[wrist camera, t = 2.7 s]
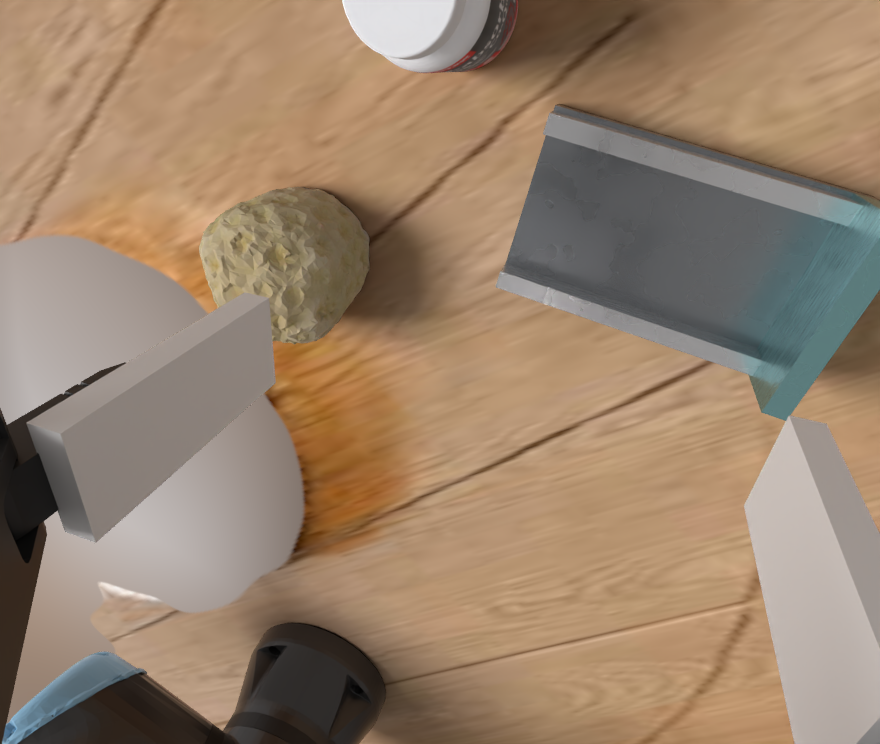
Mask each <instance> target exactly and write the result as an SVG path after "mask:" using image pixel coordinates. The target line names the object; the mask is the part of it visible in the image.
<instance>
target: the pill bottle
mask: <svg viewBox="0 0 880 744" xmlns="http://www.w3.org/2000/svg"><path fill="white" fill-rule="evenodd" d="M342 2H343V6H344V10H345V13H346V16H347V18H348V20H349V22H350V24H351V26H352V28H353V30H354V31H355V33H356V34H357V35H358V36H359V38H360V39H361V40H362V41H363V42H364V43H365V44H366V45H367V46H368V47H370V48H371V49H372V50H374V51H376V52H377V53H379V54H382V55H383V56H384V57H386V58H387V59H388V60H389V61H391V62H392V63H394V64H395V65H397V66H399V67H401V68H404V69H406V70H409V71H414V72H419V73H436V72H465V71H471V70H475V69H477V68H480V67H482V66H484V65H486V64H487V63H489V62H490V61H492V60H493V59H494V58H495V57H496V56H497V55H498V54H499V53H500V52H501V51H502V50H503V48H504V47H505V45H506V44H507V42H508V41H509V39H510V37H511V34H512V32H513V29H514V26H515V23H516V18H517V12H518V0H342Z"/></svg>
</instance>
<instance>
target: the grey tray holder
mask: <svg viewBox="0 0 880 744" xmlns="http://www.w3.org/2000/svg"><path fill="white" fill-rule="evenodd" d="M543 134H544V135H546V137H545V140H544V143H543V147H542V150H541V153H540V156H539V159H538V162H537V166H536V169H535V172H534V175H533V178H532V182H531V185H530V188H529V191H528V194H527V198H526V201H525V204H524V207H523V210H522V214H521V217H520V220H519V223H518V226H517V230H516V233H515V236H514V239H513V242H512V245H511V249H510V252H509V255H508V258H507V261H506V264H505V265H504V267H503V268H502V270H501V271H500V274H499V278H498V281H497V284H496V287H497V288H500V289H503V290H505V291H508V292H511V293H514V294H517V295H520V296H523V297H526V298H529V299H532V300H534V301H537V302H540V303H543V304H546V305H549V306H552V307H555V308H558V309H560V310H563V311H566V312H569V313H572V314H575V315H578V316H581V317H584V318H586V319H589V320H592V321H595V322H598V323H601V324H604V325H607V326H610V327H613V328H615V329H618V330H621V331H624V332H627V333H630V334H633V335H636V336H639V337H641V338H644V339H647V340H650V341H653V342H656V343H659V344H662V345H665V346H667V347H670V348H673V349H676V350H679V351H682V352H685V353H688V354H691V355H693V356H696V357H699V358H702V359H705V360H708V361H711V362H714V363H717V364H720V365H722V366H725V367H728V368H731V369H734V370H737V371H740V372H743V373H746V374H748V375H749V377H750V380H751V383H752V386H753V389H754V392H755V395H756V398H757V401H758V404H759V406H760V409H761V412H762V413H765V414H768V415H771V416H774V417H777V418H779V419H782V420H785V421H786V420H787V418H788V416H789V415H791V413H792V412H793V410H794V409H795V408H796V406H797V405H798V403H799V402H800V401H801V399H802V398H803V396H804V395H805V394H806V392H807V391H808V389H809V388H810V387H811V385H812V384H813V382H814V381H815V380H816V378H817V377H818V375H819V374H820V373H821V371H822V370H823V368H824V367H825V366H826V364H827V363H828V361H829V360H830V359H831V357H832V356H833V354H834V353H835V352H836V350H837V349H838V347H839V346H840V345H841V343H842V342H843V340H844V339H845V338H846V336H847V335H848V333H849V332H850V331H851V329H852V328H853V326H854V325H855V324H856V322H857V321H858V319H859V318H860V317H861V315H862V314H863V312H864V311H865V310H866V308H867V307H868V305H869V304H870V303H871V301H872V300H873V298H874V297H875V296H876V294H877V293H878V291H879V290H880V200H878V199H876V198H874V197H873V196H869V195H866V194H863V193H859V192H856V191H852V190H849V189H846V188H842V187H839V186H835V185H832V184H829V183H825V182H822V181H818V180H815V179H812V178H808V177H805V176H801V175H798V174H795V173H791V172H788V171H784V170H781V169H778V168H774V167H771V166H767V165H764V164H761V163H757V162H754V161H750V160H747V159H743V158H740V157H737V156H733V155H730V154H726V153H723V152H720V151H716V150H713V149H709V148H706V147H703V146H699V145H696V144H692V143H689V142H686V141H682V140H679V139H675V138H672V137H669V136H665V135H662V134H658V133H655V132H652V131H648V130H645V129H641V128H638V127H635V126H631V125H628V124H624V123H621V122H617V121H614V120H611V119H607V118H604V117H600V116H597V115H594V114H590V113H587V112H583V111H580V110H577V109H573V108H570V107H566V106H563V105H560V104H557V105H555V108H554V111H552V112H550V113H549V116H548V120H547V123H546V126H545V129H544V133H543Z"/></svg>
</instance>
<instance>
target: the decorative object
mask: <svg viewBox="0 0 880 744" xmlns="http://www.w3.org/2000/svg"><path fill="white" fill-rule="evenodd" d="M203 233H204V234H203V236H202V240H201V243H200V246H199V252H200V256H201V259H202V263H203V268H204V270H205V274H206V279H207V281H208V285H209V287H210V288H211V290H212V294H213V298H214V301H215V302H216V304H217V306H218V308H219V307H221V306H223V305H224V304H226V303H228V302H229V301H231V300H233V299H234V298H236V297H238V296H239V295H241V294H243V293H244V292H245V293H250V294H254V295H258V296H263V297H267V298H269V303H270V317H271V330H272V341H281V342H283V343H293V344H296V343H308V342H312V341H317V340H318V339H320V338H322V337H324V336H325V335H326V334H327V333H328V332H329V331H330V330H331V329H332V328H333V327H334V325H335V324H337V323H338V322H339V320H340V319H341V317H342V315H343V314H344V312H345V310H346V309H347V308H348V306H349V305H350V304H351V303H352V302H353V301H354V298H355V297H356V295H357V294H358V293H359V292H360V290H362V286H363V284H364V281H365V277H366V275H367V273H368V271H369V270H370V264H369V236H368V233H367V232H366V231H364V230H363V229H362V226H361V223H360V221H359V220H358V218H357V217H356V216H355V215H354V214H353V213H352V212H351V211H350V210H349V208H347V207H346V206H344V205H343V204H341V203H340V202H339V200H337V199H335V197H334V195H329V194H328V193H326V192H325V191H322V190H320V189H308V188H304V187H294V188H285V189H276V190H272V191H269V192H267V193H264V194H262V195H260V196H258V197H255V198H253V199H251V200H249V201H246V202H240V203H239V204H237V205H235V206H234V207H232V208H230V209H229V210H227V211H225V212H224V213H222V214H221V215H220V216H219V217H217V219H216V220H215V221H214V222H213V223H211V224H210V225H209V226H208V227H207V229H206V230H205V231H204V232H203Z"/></svg>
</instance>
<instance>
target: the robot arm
mask: <svg viewBox="0 0 880 744" xmlns="http://www.w3.org/2000/svg"><path fill="white" fill-rule="evenodd" d="M274 384H275V370H274V357H273V343H272V330H271V317H270V303H269V298H267V297H263V296H258V295H254V294H250V293H245V292H244V293H243V294H241V295H239V296H238V297H236V298H234V299H233V300H231V301H229V302H228V303H226V304H224V305H223V306H221V307H219V308H218V309H216V310H214V311H213V312H211V313H209V314H208V315H206V316H204V317H203V318H201V319H199V320H198V321H196V322H194V323H193V324H191V325H189V326H187V327H186V328H184V329H182V330H181V331H180V332H177V333H176V334H174V335H172V336H171V337H169V338H167V339H166V340H164V341H162V342H161V343H159V344H157V345H156V346H154V347H152V348H151V349H149V350H147V351H146V352H144V353H142V354H141V355H139V356H137V357H136V358H134V359H132V360H131V361H129V362H127V363H122V364H119V365H116V366H113V367H110V368H107V369H104V370H101V371H99V372H97V373H96V374H94V375H92V376H90V377H89V378H87V379H85V380H84V381H82V382H81V384H80V385H78V384H77V385H75V386H73V387H72V388H70V389H68V390H67V391H65V394H64V395H63V394H60V395H58V396H56V397H54V398H53V399H51V400H49V401H48V402H46V403H44V404H42V405H41V406H39V407H38V408H36V409H34V410H32V411H30V412H29V413H27V414H25V415H24V416H22V417H20V418H18V419H17V420H15V421H13V422H12V423H10V424H8V425H6V422H5V419H4V417H3V414H2V411H1V409H0V744H359V743H360V742H361V740H362V739H363V738H364V737H365V736H366V734H367V733H368V732H369V731H370V729H371V728H372V727H373V726H374V724H375V722H376V721H377V718H378V716H379V714H380V711H381V709H382V706H383V704H384V701H385V686H384V683H383V681H382V678H381V676H380V675H379V673H378V671H377V670H376V668H375V667H374V666H373V664H372V663H371V662H370V661H369V660H368V659H367V658H366V657H365V656H364V655H363V654H362V653H361V652H360V651H358V650H357V649H356V648H355V647H353V646H352V645H351V644H349V643H348V642H346V641H345V640H343V639H341V638H339V637H338V636H336V635H334V634H332V633H329V632H327V631H325V630H322V629H319V628H316V627H313V626H309V625H304V624H296V623H287V624H280V625H277V626H274V627H272V628H270V629H269V630H268V631H267V632H266V633H265V634H264V635H263V637H262V639H261V640H260V642H259V643H258V645H257V646H256V648H255V649H254V651H253V653H252V655H251V658H250V662H249V665H248V669H247V672H246V676H245V679H244V682H243V686H242V689H241V693H240V696H239V700H238V703H237V706H236V710H235V712H234V714H233V715H232V717H231V719H230V720H229V722H228V724H227V725H226V727H225V728H224V730H223V731H221V730H220V729H219V728H217V727H216V726H215V725H213V724H212V723H211V722H210V721H208V720H207V719H205V718H204V717H203V716H201V715H200V714H199V713H197V712H196V711H195V710H193V709H192V708H191V707H189V706H188V705H187V704H185V703H184V702H183V701H181V700H180V699H179V698H177V697H176V696H175V695H173V694H172V693H171V692H169V691H168V690H167V689H165V688H164V687H163V686H161V685H160V684H159V683H157V682H156V681H155V680H153V679H152V678H151V677H149V676H148V675H147V672H146V671H145V670H144V669H141V668H138V669H137V668H136V667H134V666H132V665H131V664H129V663H128V662H126V661H125V660H123V659H122V658H120V657H119V656H117V655H115V654H114V653H111V652H98V653H94V654H92V655H89V656H87V657H86V658H84V659H82V660H80V661H79V662H77V663H76V664H74V665H73V666H72V667H70V668H69V669H68V670H66V671H65V672H64V673H62V674H61V675H60V676H59V677H57V678H56V679H55V680H54V681H53V682H51V683H50V684H49V685H48V686H47V687H45V688H44V689H43V690H42V691H41V692H40V693H39V694H38V695H36V696H35V697H34V698H33V699H32V700H30V701H29V702H28V703H27V704H26V705H25V706H24V707H23V708H22V709H21V710H20V711H18V712H17V713H16V714H15V716H13V717H12V719H11V721H10V722H9V723H8V724H6V722H7V717H8V713H9V708H10V703H11V698H12V694H13V690H14V685H15V680H16V675H17V671H18V666H19V662H20V657H21V652H22V648H23V643H24V639H25V634H26V629H27V625H28V620H29V615H30V610H31V606H32V601H33V597H34V592H35V587H36V583H37V578H38V573H39V569H40V564H41V560H42V555H43V550H44V546H45V541H46V536H47V533H46V526H45V524H44V520H46V519H47V518H48V517H49V516H51V515H52V514H53V513H54V512H56V511H57V510H58V513H59V516H60V518H61V521H62V524H63V527H64V530H65V532H68V533H70V534H73V535H76V536H79V537H81V538H84V539H87V540H90V541H93V542H97V541H98V540H99V539H101V538H102V537H103V536H104V535H105V534H106V533H107V532H108V531H110V530H111V528H113V527H114V526H115V525H116V524H117V523H118V522H120V521H121V520H122V519H123V518H124V517H125V516H126V515H127V514H129V513H130V512H131V511H132V510H133V509H134V508H135V507H136V506H138V505H139V504H140V503H141V502H142V501H143V500H144V499H145V498H147V497H148V496H149V495H150V494H151V493H152V492H153V491H154V490H156V489H157V488H158V487H159V486H160V485H161V484H162V483H163V482H164V481H166V480H167V479H168V478H169V477H170V476H171V475H172V474H173V473H175V472H176V471H177V470H178V469H179V468H180V467H181V466H183V465H184V464H185V463H186V462H187V461H188V460H189V459H190V458H191V457H193V456H194V455H195V454H196V453H197V452H198V451H199V450H201V449H202V448H203V447H204V446H205V445H206V444H207V443H208V442H210V441H211V440H212V439H213V438H214V437H215V436H216V435H217V434H219V433H220V432H221V431H222V430H223V429H224V428H225V427H226V426H227V425H228V424H230V423H231V422H232V421H233V420H234V419H235V418H237V417H238V416H239V415H240V414H241V413H242V412H243V411H244V410H246V408H248V407H249V406H250V405H251V404H252V403H253V402H255V401H256V400H257V399H258V398H259V397H260V396H261V395H262V394H263V393H265V392H266V391H267V390H268V389H269V388H270V387H271V386H272V385H274ZM744 508H745V513H746V518H747V522H748V527H749V532H750V537H751V541H752V546H753V551H754V555H755V560H756V565H757V569H758V574H759V579H760V584H761V588H762V593H763V598H764V602H765V607H766V612H767V616H768V621H769V626H770V631H771V635H772V640H773V645H774V649H775V654H776V659H777V663H778V668H779V673H780V678H781V682H782V687H783V692H784V696H785V701H786V706H787V710H788V715H789V720H790V725H791V729H792V734H793V739H794V743H795V744H880V534H879V532H878V530H877V527H876V525H875V523H874V521H873V519H872V517H871V515H870V513H869V511H868V509H867V507H866V505H865V503H864V500H863V498H862V496H861V494H860V492H859V490H858V488H857V486H856V484H855V482H854V480H853V478H852V476H851V473H850V471H849V469H848V467H847V465H846V463H845V461H844V459H843V457H842V455H841V453H840V451H839V449H838V446H837V444H836V442H835V440H834V438H833V436H832V434H831V432H830V430H829V428H828V426H827V424H825V423H821V422H816V421H812V420H807V419H803V418H799V417H794V416H790V415H789V416H788V418H787V420H786V422H785V424H784V426H783V428H782V430H781V432H780V434H779V436H778V438H777V440H776V442H775V444H774V446H773V448H772V450H771V452H770V454H769V456H768V458H767V460H766V462H765V464H764V466H763V468H762V470H761V472H760V474H759V477H758V479H757V481H756V483H755V485H754V487H753V489H752V491H751V493H750V495H749V497H748V499H747V501H746V503H745V505H744Z"/></svg>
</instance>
